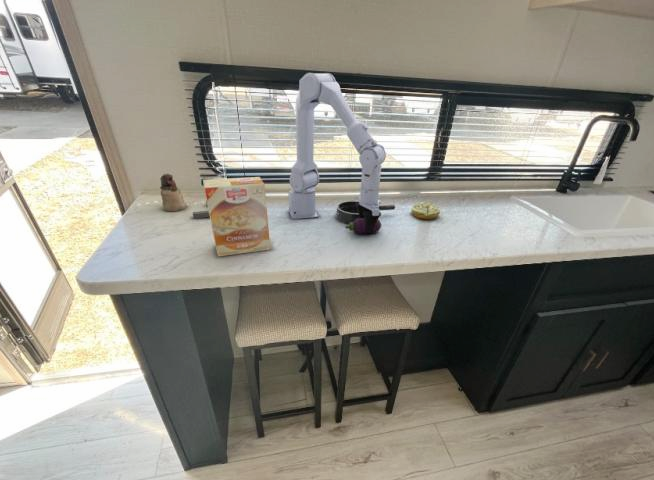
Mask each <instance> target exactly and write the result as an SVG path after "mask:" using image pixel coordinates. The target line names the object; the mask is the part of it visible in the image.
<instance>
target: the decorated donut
mask: <svg viewBox="0 0 654 480" xmlns="http://www.w3.org/2000/svg"><path fill="white" fill-rule="evenodd" d="M410 212H411V213H412V214H413V216H415V217H416V218H417V219H420V220H434V219H436V218H437V217H438V216H439V215H440V214H441V209H440V207H439V206H438V205H436V204H434V203H430V202H427V201H422V202H417V203H414V204H413V205H412V207H411V209H410Z"/></svg>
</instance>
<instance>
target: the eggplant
mask: <svg viewBox="0 0 654 480" xmlns="http://www.w3.org/2000/svg"><path fill="white" fill-rule="evenodd" d="M344 228H345V229H346V230H347V229H348V230H349V231H350V232H354V233H355V234H358V235H363V234H364V235H365V234H376V233H377V232H379V231H380V230H381V228H382V223H381V220H380V218H378V220H377V222H376V224H375V227H374V229H373V232H368V233H367V232H366V228H365V218H359V219H356V220H355V221H354V222H350V223H349V224H348V225H345V227H344Z"/></svg>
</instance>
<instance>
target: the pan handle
mask: <svg viewBox="0 0 654 480" xmlns="http://www.w3.org/2000/svg"><path fill="white" fill-rule="evenodd" d="M378 207H379V209H380V211H393V210H395V209H396V205H395V204H378Z"/></svg>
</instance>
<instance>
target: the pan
mask: <svg viewBox="0 0 654 480" xmlns="http://www.w3.org/2000/svg"><path fill="white" fill-rule="evenodd" d="M356 203H359V200H347V201H342V202H339V203H338V204H337V205H336V218H337V220H338V221H340V222H341V223H344V224H348V225H349V223H350V222H354V221H355V220H356V219H359V213H358V209H357V207H356Z"/></svg>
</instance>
